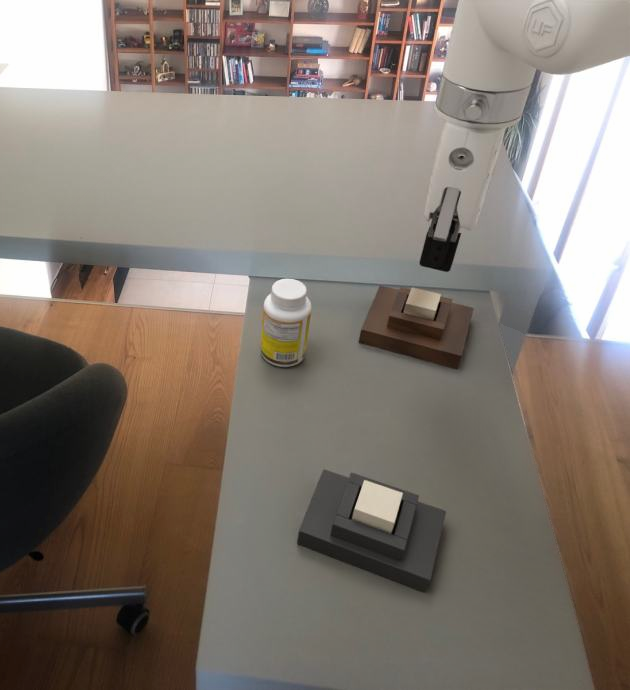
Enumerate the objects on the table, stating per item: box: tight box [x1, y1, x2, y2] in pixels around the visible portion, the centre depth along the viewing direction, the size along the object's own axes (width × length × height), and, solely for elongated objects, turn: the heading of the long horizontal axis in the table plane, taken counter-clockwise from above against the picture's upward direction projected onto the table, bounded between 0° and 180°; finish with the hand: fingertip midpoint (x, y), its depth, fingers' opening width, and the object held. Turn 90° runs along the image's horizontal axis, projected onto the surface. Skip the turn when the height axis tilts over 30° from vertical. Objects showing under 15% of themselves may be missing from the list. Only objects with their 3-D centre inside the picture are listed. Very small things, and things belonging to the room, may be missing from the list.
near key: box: [352, 480, 403, 534], centre depth 64 cm, size 4×4×2 cm
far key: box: [404, 287, 442, 321], centre depth 86 cm, size 4×4×2 cm
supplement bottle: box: [260, 278, 312, 368], centre depth 83 cm, size 6×6×10 cm
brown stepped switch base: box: [358, 285, 475, 370], centre depth 87 cm, size 12×10×4 cm
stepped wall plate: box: [296, 468, 447, 593], centre depth 65 cm, size 12×8×4 cm, turn 64°
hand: (435, 264), depth 74 cm, fingers closed
